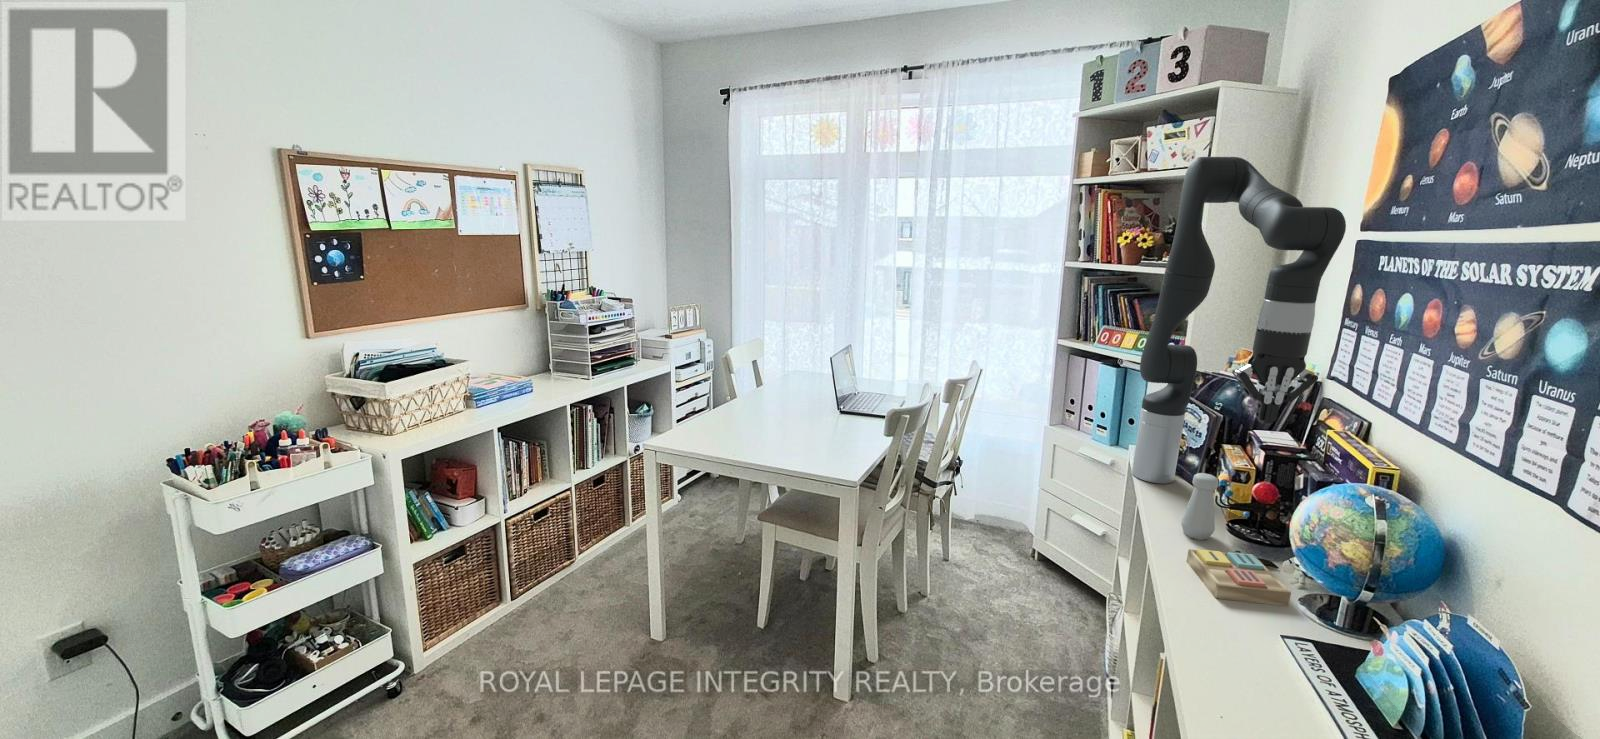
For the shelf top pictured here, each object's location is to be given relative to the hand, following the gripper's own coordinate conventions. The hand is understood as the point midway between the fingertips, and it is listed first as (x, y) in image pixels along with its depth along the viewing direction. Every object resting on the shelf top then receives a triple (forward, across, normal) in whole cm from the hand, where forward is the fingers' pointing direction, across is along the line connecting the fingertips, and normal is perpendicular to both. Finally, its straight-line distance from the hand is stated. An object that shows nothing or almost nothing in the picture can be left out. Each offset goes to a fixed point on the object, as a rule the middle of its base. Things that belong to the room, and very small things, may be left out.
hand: (1264, 422), depth 111 cm
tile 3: (+26, +4, +12) cm, 29 cm away
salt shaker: (+27, +4, -8) cm, 29 cm away
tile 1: (+26, +7, +6) cm, 28 cm away
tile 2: (+26, +2, +6) cm, 27 cm away
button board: (+27, +4, +9) cm, 29 cm away
